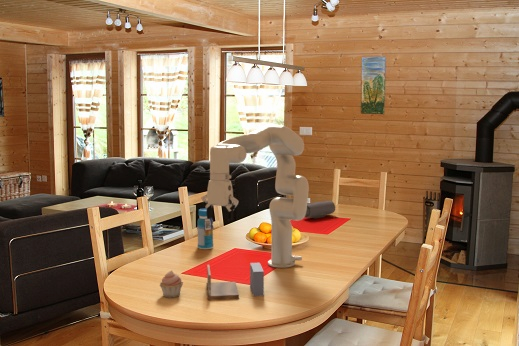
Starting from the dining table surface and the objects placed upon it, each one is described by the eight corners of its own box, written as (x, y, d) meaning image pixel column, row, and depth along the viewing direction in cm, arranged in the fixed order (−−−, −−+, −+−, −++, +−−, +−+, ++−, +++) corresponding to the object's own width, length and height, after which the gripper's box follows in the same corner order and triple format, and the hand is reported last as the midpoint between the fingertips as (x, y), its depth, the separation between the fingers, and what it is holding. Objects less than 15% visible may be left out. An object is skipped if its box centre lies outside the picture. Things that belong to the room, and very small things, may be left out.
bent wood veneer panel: (235, 285, 241) (235, 263, 240) (238, 298, 225) (238, 274, 224) (206, 286, 240) (206, 264, 238) (207, 299, 224) (207, 276, 223)
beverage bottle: (194, 249, 297) (194, 210, 294) (200, 244, 305) (200, 207, 302) (210, 250, 295) (210, 211, 292) (215, 246, 303) (215, 208, 300)
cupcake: (188, 294, 229) (188, 270, 228) (170, 301, 222) (169, 276, 221) (173, 289, 236) (172, 265, 234) (154, 295, 229) (154, 271, 227)
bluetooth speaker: (325, 213, 385) (325, 199, 384) (335, 216, 378) (336, 201, 377) (300, 218, 370) (301, 203, 369) (311, 220, 363) (311, 205, 362)
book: (259, 286, 240) (259, 262, 239) (263, 295, 229) (263, 271, 227) (250, 286, 240) (250, 263, 239) (253, 296, 228) (253, 271, 227)
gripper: (243, 177, 230) (242, 220, 232) (207, 174, 238) (207, 215, 241) (232, 180, 223) (232, 223, 225) (196, 176, 232) (196, 218, 234)
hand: (219, 219), depth 233 cm, fingers open, 9 cm apart
